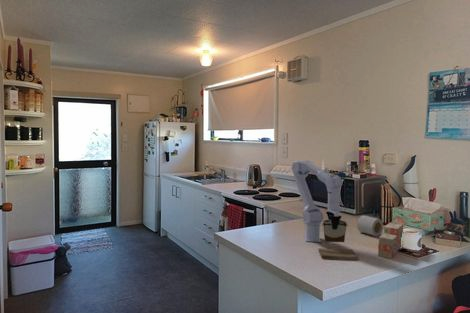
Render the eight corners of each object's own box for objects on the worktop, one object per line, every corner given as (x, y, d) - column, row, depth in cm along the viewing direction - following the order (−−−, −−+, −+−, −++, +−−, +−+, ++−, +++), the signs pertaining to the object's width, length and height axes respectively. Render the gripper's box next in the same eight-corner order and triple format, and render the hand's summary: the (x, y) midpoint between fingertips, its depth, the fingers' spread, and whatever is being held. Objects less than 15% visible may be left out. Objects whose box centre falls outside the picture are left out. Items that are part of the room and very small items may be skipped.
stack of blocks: (392, 259, 154) (393, 233, 154) (377, 256, 158) (378, 230, 158) (402, 247, 171) (403, 223, 171) (389, 245, 175) (390, 221, 174)
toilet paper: (356, 233, 196) (357, 216, 195) (367, 230, 201) (368, 214, 201) (371, 237, 188) (372, 220, 187) (382, 235, 193) (383, 217, 192)
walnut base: (318, 251, 164) (318, 248, 164) (351, 252, 163) (351, 249, 162) (322, 258, 154) (322, 255, 154) (357, 260, 153) (357, 256, 152)
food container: (344, 238, 172) (344, 219, 171) (347, 242, 166) (347, 222, 165) (319, 238, 173) (320, 219, 172) (322, 242, 167) (322, 222, 166)
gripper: (345, 203, 161) (345, 231, 161) (338, 198, 175) (338, 224, 176) (330, 203, 161) (330, 231, 162) (324, 198, 176) (324, 223, 176)
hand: (333, 227), depth 169 cm, fingers closed on food container, 6 cm apart
